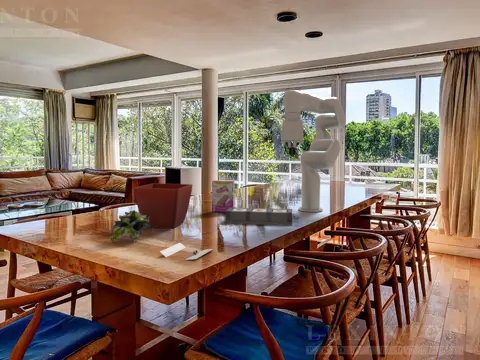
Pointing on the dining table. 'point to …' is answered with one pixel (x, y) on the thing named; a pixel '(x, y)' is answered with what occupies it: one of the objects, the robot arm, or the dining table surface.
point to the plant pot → (163, 203)
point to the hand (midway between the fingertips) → (292, 156)
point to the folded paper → (179, 247)
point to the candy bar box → (222, 195)
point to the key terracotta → (260, 210)
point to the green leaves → (130, 225)
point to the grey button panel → (259, 216)
